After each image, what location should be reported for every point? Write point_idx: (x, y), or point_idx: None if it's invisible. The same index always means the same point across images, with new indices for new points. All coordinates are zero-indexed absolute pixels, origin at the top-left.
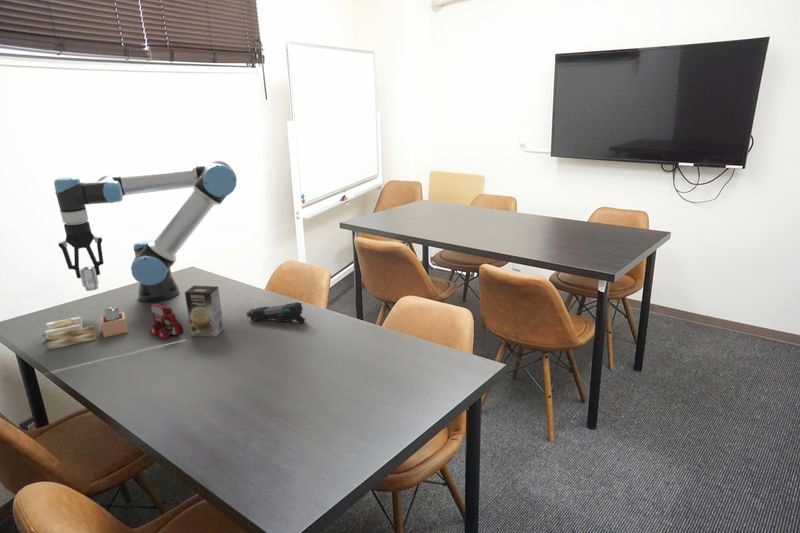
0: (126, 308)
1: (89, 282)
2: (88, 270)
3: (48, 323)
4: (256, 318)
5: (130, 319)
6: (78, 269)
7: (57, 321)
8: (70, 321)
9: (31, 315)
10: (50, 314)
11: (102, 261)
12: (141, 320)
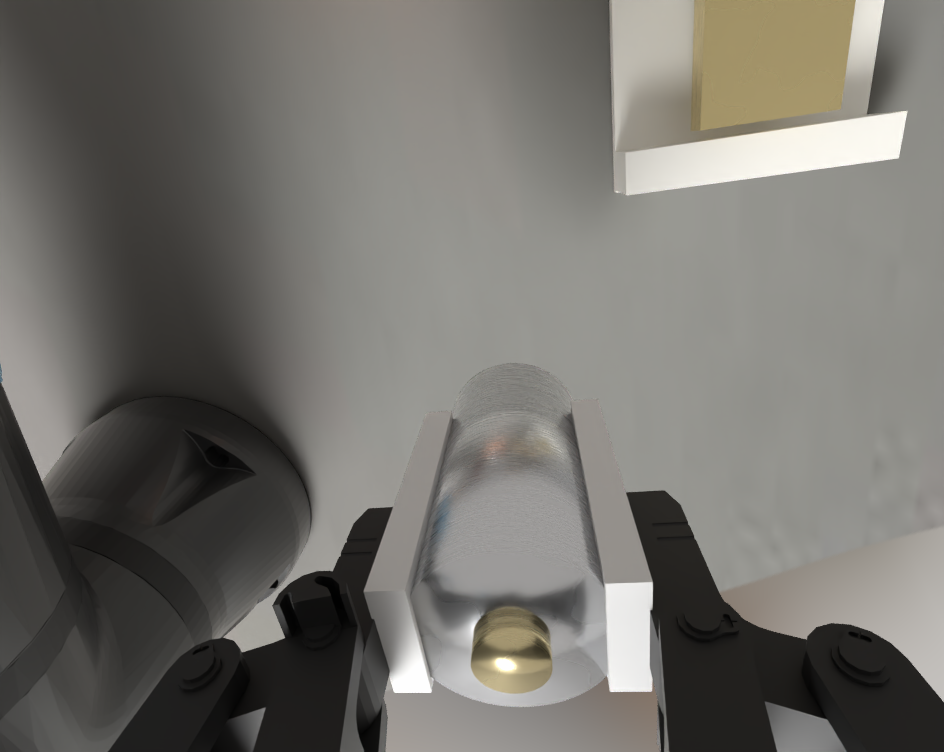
0: (351, 366)
1: (513, 413)
2: (478, 539)
3: (887, 139)
4: None
5: (275, 119)
6: (663, 616)
7: (820, 107)
8: (710, 46)
9: (919, 518)
10: (811, 482)
11: (160, 703)
12: (183, 50)
